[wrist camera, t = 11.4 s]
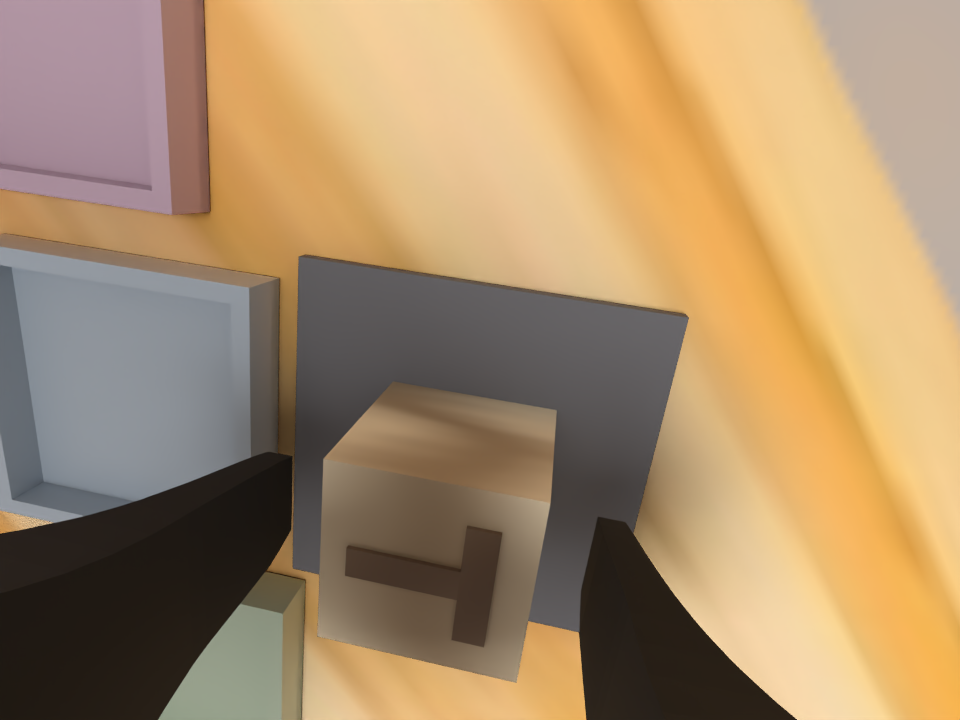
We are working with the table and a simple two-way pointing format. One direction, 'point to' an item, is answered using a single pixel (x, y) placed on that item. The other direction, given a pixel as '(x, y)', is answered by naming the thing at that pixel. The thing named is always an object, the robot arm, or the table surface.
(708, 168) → the table surface
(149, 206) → the tray near
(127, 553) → the robot arm
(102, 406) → the tray mid
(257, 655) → the tray far
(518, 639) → the letter cube
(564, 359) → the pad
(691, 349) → the table surface
